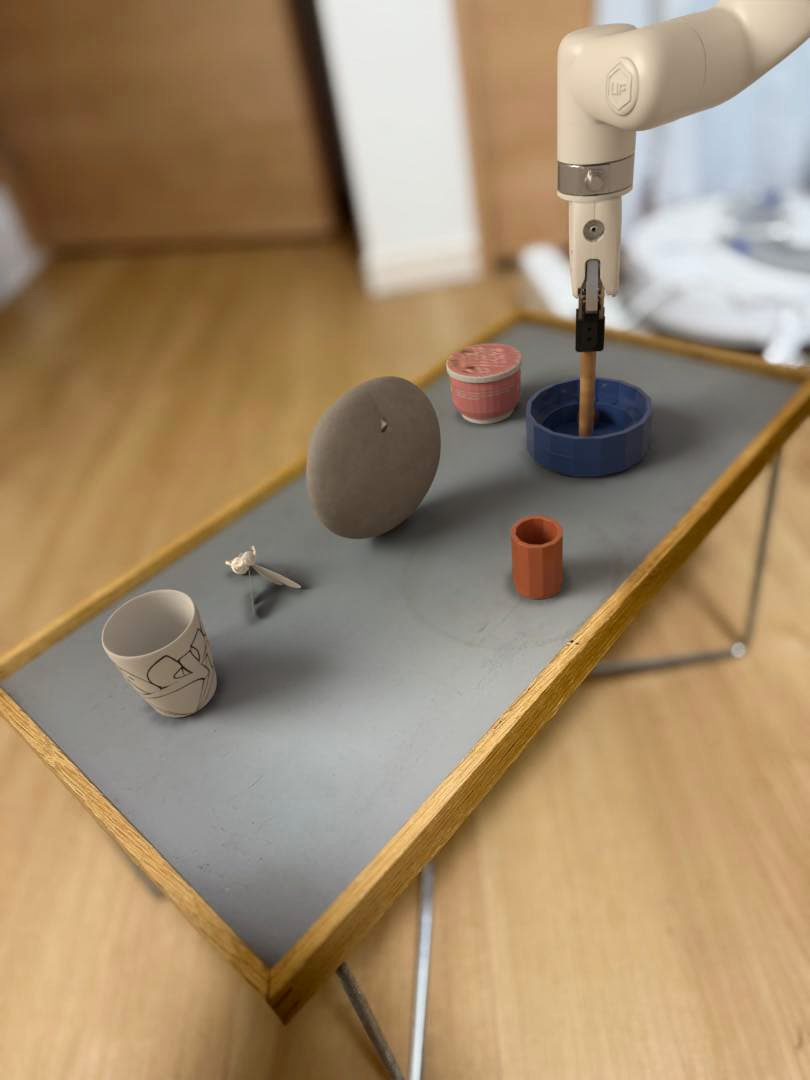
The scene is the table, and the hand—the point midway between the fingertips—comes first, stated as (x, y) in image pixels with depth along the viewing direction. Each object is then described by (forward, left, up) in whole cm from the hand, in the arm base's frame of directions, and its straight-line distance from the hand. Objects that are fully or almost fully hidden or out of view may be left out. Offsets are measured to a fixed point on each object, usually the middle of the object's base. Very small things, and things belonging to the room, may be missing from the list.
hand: (589, 344), depth 83 cm
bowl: (0, 0, -14) cm, 14 cm away
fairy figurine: (+36, +28, -14) cm, 48 cm away
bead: (0, -4, -12) cm, 13 cm away
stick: (0, 0, -13) cm, 13 cm away
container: (+14, -10, -14) cm, 22 cm away
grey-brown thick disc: (+23, +17, -14) cm, 32 cm away
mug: (+39, +42, -14) cm, 59 cm away
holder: (+5, +26, -14) cm, 30 cm away
